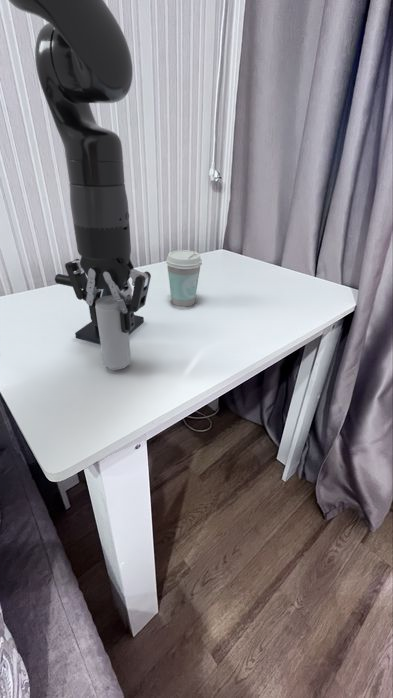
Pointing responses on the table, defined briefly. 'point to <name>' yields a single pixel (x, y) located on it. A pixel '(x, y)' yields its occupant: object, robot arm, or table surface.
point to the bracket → (92, 331)
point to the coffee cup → (183, 276)
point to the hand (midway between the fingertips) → (113, 326)
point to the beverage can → (112, 334)
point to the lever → (64, 280)
